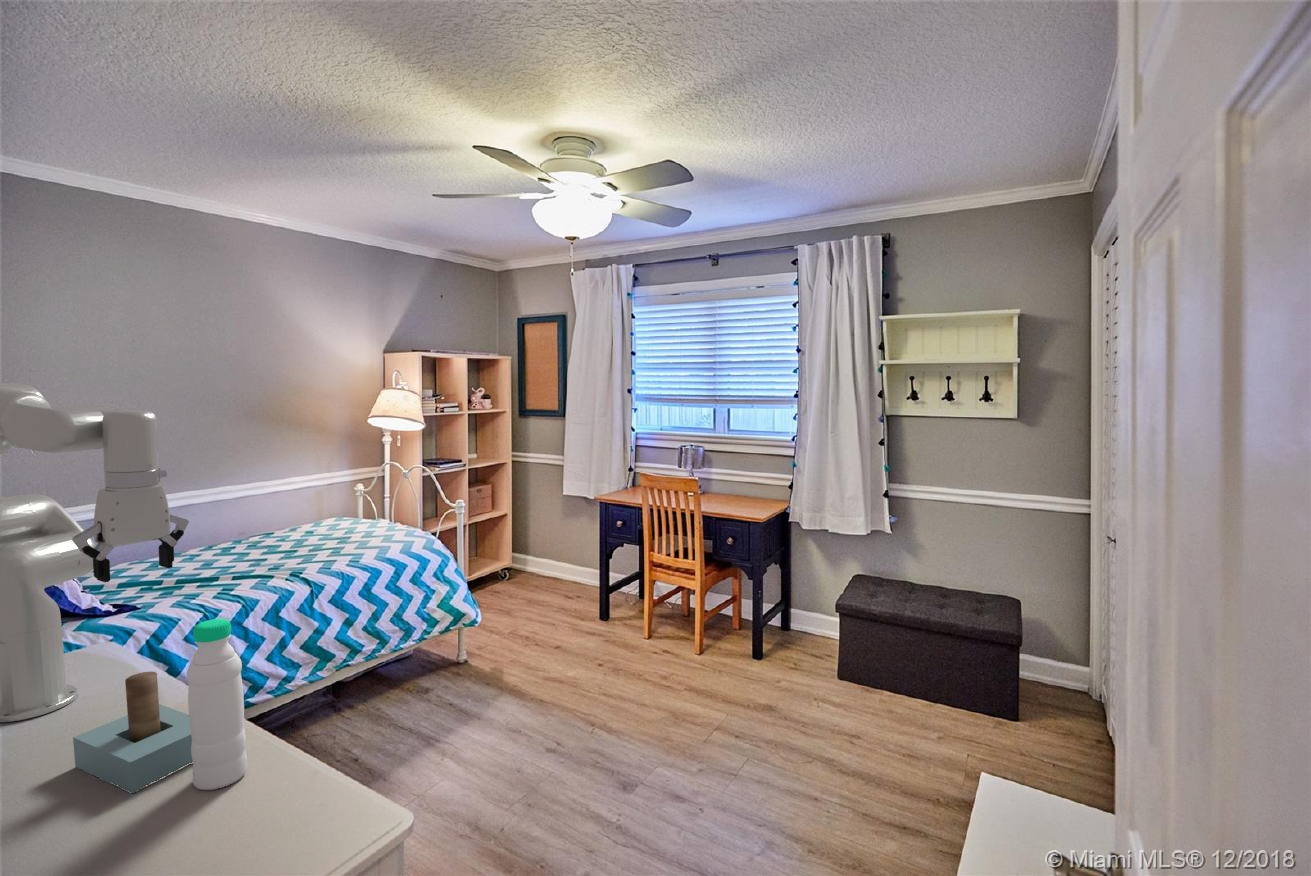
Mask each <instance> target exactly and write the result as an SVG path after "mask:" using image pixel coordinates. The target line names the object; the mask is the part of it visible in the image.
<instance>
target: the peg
mask: <svg viewBox="0 0 1311 876" xmlns="http://www.w3.org/2000/svg"><path fill="white" fill-rule="evenodd" d="M124 685H125V696H126V709H127V710H126V711H127V712H126V713H127V715H128V726H129V740H130V741H131V742H133V743H136V742H139V741H141V740H143V739H146V738H148V737H150V736H152V735H155V734H157V733H159V732H161V728H160V713H159V704H160V703H159V702H160V700H159V698H160V697H159V688H158V687H159V685H158V673H157V671H144V672H139V673H135V674H133V675H132V674H131V675H130V676H128V677H127V678H126V679H125V684H124Z"/></svg>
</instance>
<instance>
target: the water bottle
mask: <svg viewBox="0 0 1311 876" xmlns="http://www.w3.org/2000/svg"><path fill="white" fill-rule="evenodd" d="M192 631H193V632H192V636H193V640H194V643H195V644H196V645H197V649H196V651H195V653H194V654H193V656H192V660H191V662H190V663H189V665H188V668H187V670H186V682H188V686H187V687H188V689H187V690H188V691H187V702H188V704H187V705H188V707H187V709H188V715H189V722H190V730H191V736H192V744H191V755H192V760H193V764H192V773H191V774H192V783H193V786H194V787H195V788H196V789H198V790H201V791H213V790H214V789H215V790H219V789H218V788H220V789H222V787H223V788H225V787H224V786H226V787H228V786H230V784H231V785H233V784H234V783H236V782H237V781H239V780H240V779H241V778H243V776H244V775H245V774H246V773H247V771H248V770H247V769H248V757H247V751H246V745H247V744H246V743H247V742H246V741H247V738H246V730H245V727H244V724H245V702H244V701H245V699H244V698H245V697H244V686H243V679H242V673H241V672H242V670H243V669H242V667H243V664H242V663H243V662H242V659H241V658H240V656H239V655H238V654H237V652H235V648H234V647H233V646H232V645H231V644H230V643H229V639H230V638H231V633H232V625H231V622H230V621H229V620H228V619H225V618H215V619H214V618H213V619H209V620H205V621H204V620H203V621H202V622H199V623H197V624H196V625H195V626H194V627H193V630H192ZM227 785H228V786H227Z"/></svg>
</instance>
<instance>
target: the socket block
mask: <svg viewBox="0 0 1311 876" xmlns="http://www.w3.org/2000/svg"><path fill="white" fill-rule="evenodd" d="M159 713H160V728H161V732H159V733H157V734H155V735H152V736H150V737H148V738H146V739H143V740H141V741H139V742H136V743H133V742H131V741H130V740H129V726H128V714H127V715H125V716H122V717H119V718H117V719H114V720H113V721H110V722H108V723H104V724H103V725H100V726H98V727H96V728H93V729H91V730H88V731H85V732H82V733H79V734H78V735H75V736H73V737H72V740H73V741H72V742H73V752H74V755H73V756H74V766H75V767H74V768H76V767H77V768H76V769H78V768H79V770H80V769H81V770H80V771H82V770H83V772H85V773H87V772H88V773H87V774H89V773H90V774H89V775H91V774H92V775H91V776H93V775H94V776H93V777H95V776H98V777H99V778H101V779H100V780H102V779H103V780H102V781H104V782H106V781H108V782H111V783H113V784H115V785H118V786H119V787H121V788H123V789H125V790H127V791H129V792H131V793H134V792H136V791H137V790H140V789H141V788H143V787H145V786H146V785H149V784H150V783H151V782H154V781H157V780H159V779H160V778H162V777H164V776H167V775H168V774H169V773H171V772H174V771H176V770H178V769H179V768H181V767H183V766H185V765H187V764H189V763H192V762H193V760H192V755H191V744H192V736H191V730H190V722H189V713H186V712H185V713H184V712H182V711H179V710H177V709H174V708H171V707H168V706H166V705H162V704H160V703H159ZM99 778H98V779H99ZM108 782H107V783H108ZM119 787H118V788H119ZM121 788H120V789H121ZM123 789H122V790H123ZM125 790H124V791H125ZM127 791H126V792H127ZM140 791H141V790H140ZM129 792H128V793H129ZM131 793H130V794H131ZM136 793H137V792H136ZM134 794H135V793H134Z"/></svg>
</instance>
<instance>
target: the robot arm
mask: <svg viewBox="0 0 1311 876" xmlns="http://www.w3.org/2000/svg"><path fill="white" fill-rule="evenodd" d="M158 441H159V440H158V420H157V416H156V414H155V413H154V412H152V411H149V410H144V409H143V410H141V409H123V408H121V407H114V406H95V407H94V406H93V407H90V406H89V407H88V406H87V407H86V406H85V407H84V406H83V407H62V408H61V407H60V408H52V406H51V405H50V403H49V401H48V400H47V399H46V398H45V397H44V395H43V394H42V392H40V391H39V390H38V389H37V388H35V387H34V386H31V385H28V384H26V383H25V384H24V383H18V382H13V383H11V382H9V383H8V382H7V383H6V382H5V383H1V382H0V455H3V454H5V453H7V451H8V450H11V448H12V447H13V446H14V447H17V448H21V449H26V450H31V451H36V452H42V453H53V454H56V453H58V454H59V453H70V452H71V453H72V452H80V451H91V450H101V449H103V470H104V471H103V475H104V476H103V477H104V488H100V489H98V490H97V491H98V492H97V496H96V500H95V506H94V516H93V517H94V518H93V525H91V526H90V527H88V528H87V529H84V528H83V527H82V526H81V525H80V523H78V521H76V520H75V519H74V518H73V517H72V515H71V514H70V513H69V512H68V511H67V510H66V509H65V508H64V507H63V506H62V505H61V504H60V503H59V502H58V501H56V500H55V499H54V498H51V497H50V496H47V495H44V494H40V493H26V494H19V495H13V496H0V723H8V722H9V723H10V722H11V723H12V722H18V721H23V720H28V719H33V718H37V717H39V716H44V715H46V714H49V713H52V712H54V711H57V710H59V709H61V708H64V707H65V706H67V705H68V704H70V703H71V702H73V701H75V699H76V698H77V697H78V693H79V692H78V691H79V690H78V687H76V686H74V685H70V684H67V677H66V665H65V663H66V662H65V653H64V641H63V640H64V639H63V626H62V618H61V617H62V615H61V611H60V607H59V605H58V603H57V602H56V601H55V600H54V599H53V598H52V597H51V596H50V595H48V594H47V593H46V591H45V589H46V588H49V587H52V586H55V585H58V584H62V583H65V582H68V581H72V580H75V579H79V578H81V577H84V576H86V575H88V574H89V573H91V572H92V571H93V577H94V578H96V580H97V581H98V582H103V583H108V582H109V583H110V581H111V567H110V566H111V562H110V559H108V558H107V556H108V555H109V554H110V553H111V552H112V550H113V549H114V548H117V547H124V546H129V545H136V544H142V543H147V542H150V541H156V540H157V541H159V542H160V543H161V544H159V546H158V566H160V567H162V568H165V569H166V568H167V569H172V568H174V567H173V562H175V546H176V545H178V542H179V540H180V539H181V538H182V537H183V536H184V534H185V532H184V531H186V529H187V527H188V525H189V523H190V522H189V519H186V518H183V517H180V516H177V515H173V514H170V508H169V503H168V498H167V494H166V491H165V487H164V485H163V484H160V483H161V479H162V478H167V476H168V473H167V470H166V469H163V470H162V469H161V468H160V466H159V446H158V445H159V443H158ZM171 523H173V524H174V525H175V527H174V529H173V530H171ZM92 538H93V539H92ZM96 543H97V544H96Z"/></svg>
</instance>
